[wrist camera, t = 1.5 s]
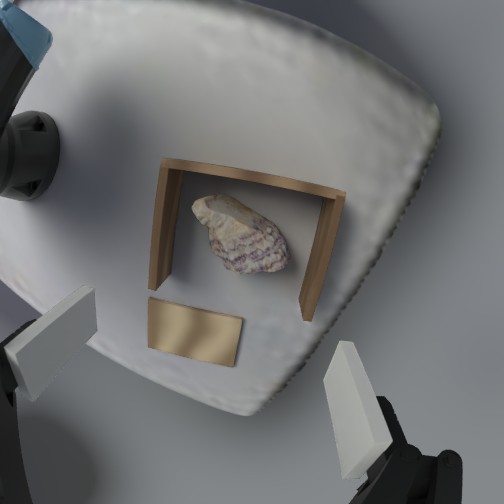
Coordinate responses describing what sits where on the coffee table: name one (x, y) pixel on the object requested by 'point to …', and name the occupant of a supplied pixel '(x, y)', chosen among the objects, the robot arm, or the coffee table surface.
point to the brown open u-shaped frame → (174, 174)
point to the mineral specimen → (241, 235)
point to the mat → (193, 332)
